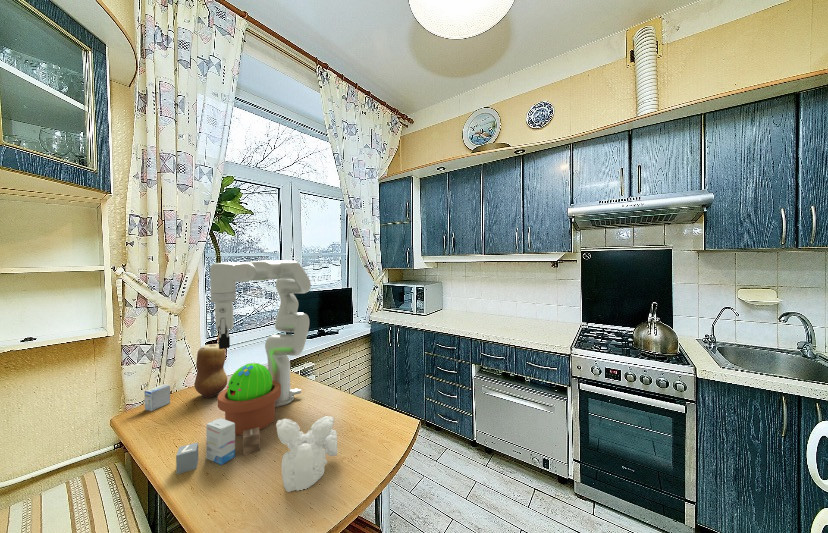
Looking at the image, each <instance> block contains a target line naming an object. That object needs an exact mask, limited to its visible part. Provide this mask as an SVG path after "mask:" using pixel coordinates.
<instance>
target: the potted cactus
mask: <svg viewBox="0 0 828 533" xmlns="http://www.w3.org/2000/svg"><path fill="white" fill-rule="evenodd" d="M280 395H281V385H280V383H279V382H276V381H273V380H272V377H271V374H270V371H268V367H266V365H264V364H261V363H257V362H249V363H247V362H246V364H243V365H240V367H238V369H236V371H235V372H233V373H232V374H231V376H230V379H229V380H228V382H227V385H226V389H225V388H224V389H223V390H222V391H221V392H220V393H218V394H217V408H218V409H219V410H220V411H222V412H224V418H225V420H228V421H231V422H233V423H235V436H237V435H238V436H243V431H245V430H249V429H253V428H257V427H259V431H260V430H263V429H265V428H267V427H268V426H269V425H271V423H272V424H273V422H274V420H275V419H276V407H275V401H276V400H277V399H278V398H279V397H280Z"/></svg>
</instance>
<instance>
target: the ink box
mask: <svg viewBox="0 0 828 533" xmlns="http://www.w3.org/2000/svg"><path fill="white" fill-rule="evenodd" d="M205 428H206V437H205V438H206V441H205V442H206V443H205V444H206V447H205V449H206V452H205V453H206V456H205V457H206V459H207V460H209V461H211V462H213V463H216V464H218V465H220V466H223V465H224V464H226V463H227V462H228V461H231V460H232V459H234V458H235V457H236V435H235V423H233V422H231V421H228V420H225V419H224V418H222V417H219V418H217V419H214V420H212V421H210V422H207V423H206V426H205Z"/></svg>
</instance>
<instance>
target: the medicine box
mask: <svg viewBox="0 0 828 533" xmlns="http://www.w3.org/2000/svg"><path fill="white" fill-rule="evenodd" d="M170 403H171V385H169V384H164V383H163V384H160V385H157V386H155V387H153V388H150V389H146V390H145V391H144V410H145V411H149V412H153V411H155V410H157V409H159V408H162V407H164V406H166V405H168V404H170Z"/></svg>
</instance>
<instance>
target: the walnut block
mask: <svg viewBox="0 0 828 533" xmlns="http://www.w3.org/2000/svg"><path fill="white" fill-rule="evenodd" d="M260 435H261V434H260V430H259V427H257V428H253V429H249V430H245V431H243V435H242V452H243V454H242V455H243V456H246V455H249V454H252V453H257V452H260V450H261V448H260V446H261V444H260V442H261V441H260V440H261V439H260V438H261V436H260Z"/></svg>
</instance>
